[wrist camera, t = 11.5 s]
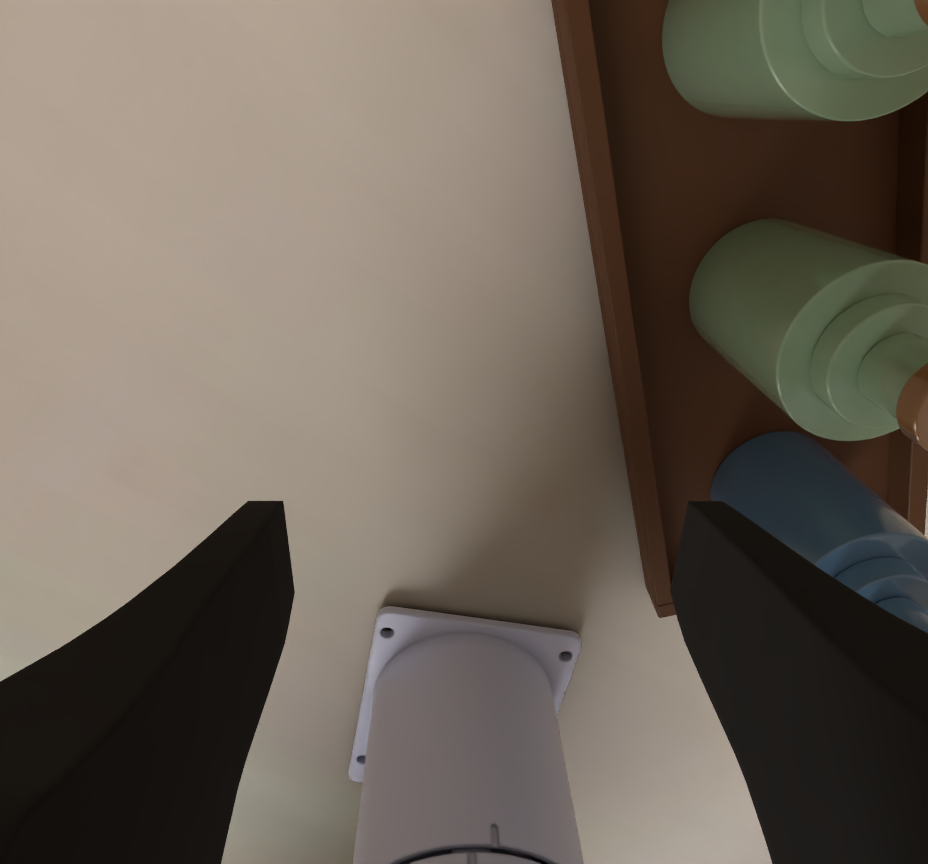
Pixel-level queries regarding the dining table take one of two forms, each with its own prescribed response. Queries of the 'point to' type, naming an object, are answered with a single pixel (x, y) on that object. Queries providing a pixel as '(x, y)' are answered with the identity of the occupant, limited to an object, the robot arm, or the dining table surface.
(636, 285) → the tray
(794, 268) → the green bottle mid
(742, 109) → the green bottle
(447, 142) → the dining table surface
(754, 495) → the blue bottle
